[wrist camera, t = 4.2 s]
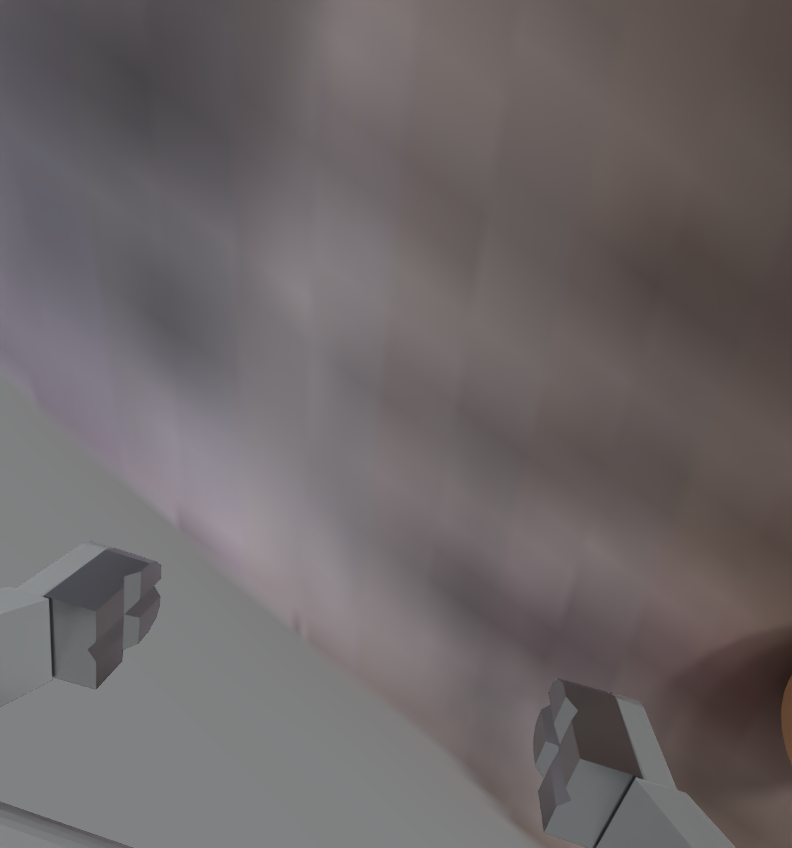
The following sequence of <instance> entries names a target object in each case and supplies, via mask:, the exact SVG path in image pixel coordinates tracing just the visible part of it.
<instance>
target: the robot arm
mask: <svg viewBox="0 0 792 848" xmlns="http://www.w3.org/2000/svg"><path fill="white" fill-rule="evenodd" d="M160 579H161V565H160V564H159V563H158V562H157V561H154V560H151V559H148V558H145V557H142V556H138V555H135V554H132V553H129V552H126V551H123V550H120V549H117V548H111V547H108V546H105V545H102V544H99V543H96V542H93V541H89V542H84V543H82V544H81V545H79V546H77V547H76V548H75V549H73V550H71V551H70V552H69V553H67V554H66V555H64V556H63V557H61V558H60V559H58V560H57V561H55V562H54V563H52V564H51V565H49V566H48V567H46V568H45V569H43V570H42V571H41V572H39V573H38V574H36V575H35V576H33V577H32V578H30V579H29V580H27V581H26V582H24V583H23V584H21V585H20V586H18V587H17V588H12V587H9V586H7V587H4V588H0V707H1V706H3V705H5V704H7V703H9V702H11V701H13V700H15V699H17V698H18V697H20V696H22V695H24V694H26V693H28V692H30V691H32V690H34V689H36V688H38V687H40V686H42V685H44V684H45V683H48V682H50V681H52V678H53V677H54V678H58V679H61V680H65V681H68V682H71V683H75V684H79V685H82V686H86V687H89V688H93V689H97V688H98V687H99V686H100V685H101V684H102V682H103V681H104V680H105V679H106V678H107V677H108V676H109V675H110V674H111V673H112V672H113V670H114V669H115V668H116V667H117V666H118V665H119V664H120V663H121V662H122V656H123V650H124V649H126V648H128V647H131V646H133V645H135V644H138V643H139V642H140V641H141V640H142V639H143V637H144V636H145V635H146V634H147V633H148V631H149V630H150V627H151V626H152V624H153V622H154V621H155V619H156V616H157V613H158V609H159V606H160V595H159V593H158V592H157V590H156V588H155V586H154V585H155V584H156V583H157V582H158V581H159V580H160ZM548 693H549V699H550V705H549V706H547V707H545V708H543V709H541V711H540V714H539V716H538V719H537V722H536V726H535V732H534V760H535V766H536V768H537V769H538V771H539V772H540V774H541V775H542V777H543V778H544V780H543V782H542V784H541V786H540V789H539V791H538V792H539V799H540V807H541V814H542V821H543V829H544V833H547V834H550V835H553V836H555V837H558V838H561V839H564V840H567V841H570V842H573V843H575V844H578V845H581V846H584V847H587V848H736V847H735V846H734V845H733V844H732V843H731V842H730V841H729V839H728V838H727V837H726V836H725V835H724V834H723V833H722V832H721V831H720V830H719V828H718V827H717V826H716V825H715V824H714V823H713V822H712V821H711V820H710V818H709V817H708V816H707V815H706V814H705V813H704V812H703V811H702V810H701V809H700V807H699V806H698V805H697V804H696V803H695V802H694V801H693V800H692V799H691V798H690V796H689V795H688V794H687V793H685V792H682V791H679V790H677V788H676V785H675V783H674V780H673V778H672V775H671V773H670V770H669V768H668V766H667V763H666V761H665V758H664V756H663V753H662V751H661V748H660V746H659V743H658V741H657V739H656V736H655V734H654V731H653V729H652V726H651V724H650V721H649V719H648V716H647V714H646V712H645V709H644V707H643V705H642V704H641V703H640V702H639V701H638V700H635V699H632V698H628V697H624V696H621V695H617V694H613V693H608V692H605V691H601V690H598V689H594V688H591V687H587V686H584V685H580V684H577V683H573V682H570V681H566V680H562V679H559V678H557V679H556V680H555V681H554V682H553V684H552V686H551V688H550V690H549V692H548ZM0 848H132V847H129V846H126V845H123V844H121V843H118V842H115V841H112V840H109V839H106V838H103V837H100V836H98V835H95V834H92V833H89V832H86V831H83V830H80V829H77V828H74V827H72V826H69V825H66V824H63V823H60V822H57V821H54V820H51V819H49V818H45V817H42V816H40V815H37V814H34V813H31V812H28V811H25V810H23V809H20V808H17V807H14V806H11V805H8V804H5V803H2V802H0Z"/></svg>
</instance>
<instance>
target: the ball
mask: <svg viewBox="0 0 792 848" xmlns="http://www.w3.org/2000/svg"><path fill="white" fill-rule="evenodd" d="M781 724H782V734H783V738H784V743H785V747H786V751H787V755H788V757H789V760H790V762H791V765H792V675H791V677H790V679H789V681H788V683H787V686H786V688H785V691H784V696H783V701H782V708H781Z"/></svg>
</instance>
